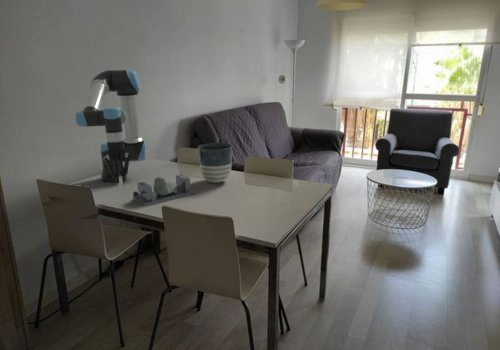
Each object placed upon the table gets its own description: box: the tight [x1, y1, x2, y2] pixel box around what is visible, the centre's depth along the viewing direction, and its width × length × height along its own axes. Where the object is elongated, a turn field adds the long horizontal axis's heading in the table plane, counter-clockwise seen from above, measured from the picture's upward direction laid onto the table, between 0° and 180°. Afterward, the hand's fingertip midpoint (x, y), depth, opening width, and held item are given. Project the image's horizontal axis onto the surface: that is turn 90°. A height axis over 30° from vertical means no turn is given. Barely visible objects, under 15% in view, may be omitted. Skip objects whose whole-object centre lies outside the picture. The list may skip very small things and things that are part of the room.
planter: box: [197, 142, 233, 184], centre depth 217 cm, size 20×20×21 cm
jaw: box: [132, 180, 153, 201], centre depth 186 cm, size 10×8×8 cm
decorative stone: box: [152, 176, 177, 196], centre depth 196 cm, size 13×11×10 cm
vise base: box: [132, 173, 195, 207], centre depth 194 cm, size 14×28×9 cm, turn 130°
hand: (120, 189), depth 179 cm, fingers closed
